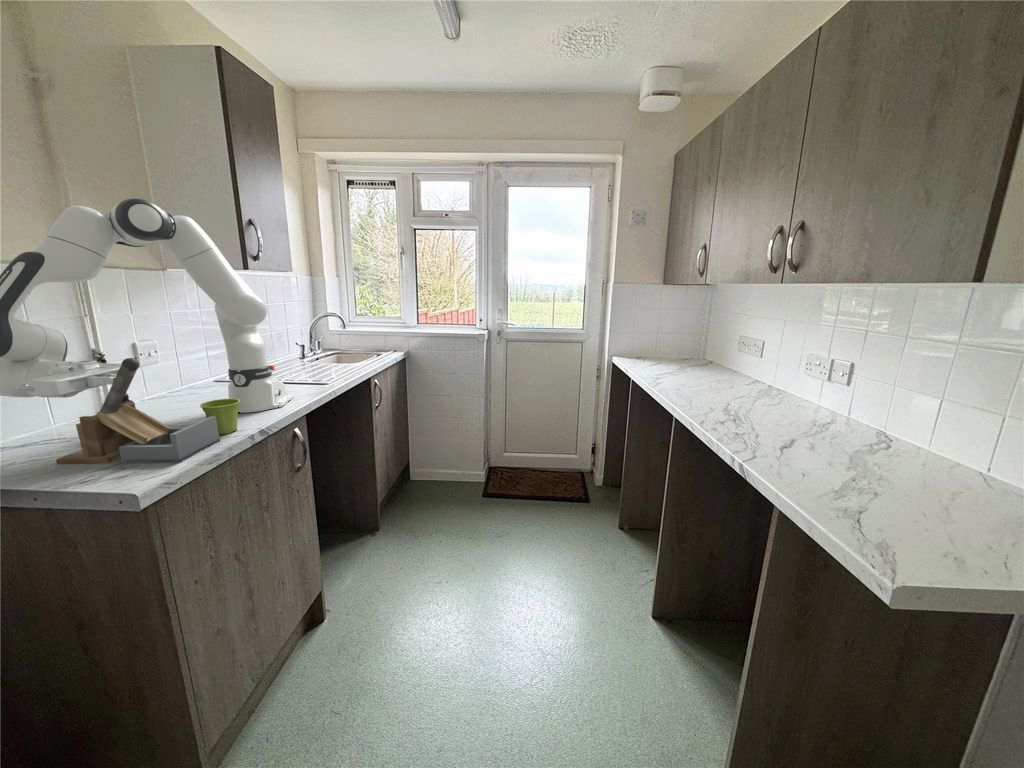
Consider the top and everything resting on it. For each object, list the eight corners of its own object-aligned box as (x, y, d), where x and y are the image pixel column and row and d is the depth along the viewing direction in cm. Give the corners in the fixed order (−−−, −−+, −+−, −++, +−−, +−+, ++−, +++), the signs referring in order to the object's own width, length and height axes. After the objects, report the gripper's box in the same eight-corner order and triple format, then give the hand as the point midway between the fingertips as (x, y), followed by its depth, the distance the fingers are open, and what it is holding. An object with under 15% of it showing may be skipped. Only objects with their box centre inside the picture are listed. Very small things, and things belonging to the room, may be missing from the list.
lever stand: (111, 442, 111) (102, 403, 109) (156, 442, 111) (148, 402, 109) (56, 464, 98) (44, 419, 95) (108, 463, 98) (97, 418, 95)
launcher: (116, 407, 106) (141, 352, 103) (167, 435, 108) (194, 382, 105) (83, 417, 98) (110, 358, 95) (139, 448, 100) (167, 390, 97)
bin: (169, 441, 112) (163, 417, 110) (220, 441, 112) (215, 416, 110) (122, 463, 98) (115, 435, 96) (180, 462, 98) (174, 434, 97)
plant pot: (237, 424, 126) (233, 396, 124) (249, 430, 120) (244, 401, 118) (200, 432, 119) (195, 403, 117) (211, 439, 113) (205, 409, 111)
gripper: (5, 375, 89) (70, 375, 90) (97, 359, 109) (149, 359, 110) (13, 403, 91) (77, 403, 91) (102, 382, 111) (154, 383, 111)
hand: (117, 379), depth 100 cm, fingers closed, pressing on launcher
